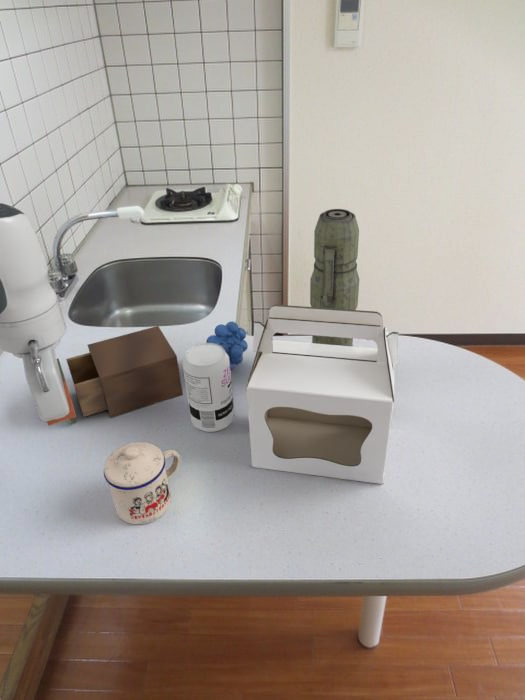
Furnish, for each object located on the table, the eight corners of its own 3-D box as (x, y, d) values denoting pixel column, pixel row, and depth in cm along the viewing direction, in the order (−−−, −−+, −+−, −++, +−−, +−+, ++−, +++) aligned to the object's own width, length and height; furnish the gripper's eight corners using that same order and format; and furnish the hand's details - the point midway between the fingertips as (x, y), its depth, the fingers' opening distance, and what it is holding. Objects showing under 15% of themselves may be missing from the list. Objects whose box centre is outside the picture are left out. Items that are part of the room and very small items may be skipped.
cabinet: (110, 418, 101) (100, 378, 95) (97, 382, 110) (87, 344, 105) (183, 394, 106) (176, 355, 100) (164, 362, 115) (158, 325, 110)
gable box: (250, 467, 89) (239, 326, 73) (266, 416, 99) (259, 283, 83) (384, 485, 84) (404, 339, 68) (386, 429, 95) (403, 292, 79)
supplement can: (187, 410, 101) (177, 346, 93) (228, 401, 103) (222, 337, 95) (195, 438, 95) (185, 372, 86) (239, 428, 97) (234, 361, 88)
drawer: (43, 433, 96) (31, 400, 92) (37, 398, 105) (25, 366, 101) (141, 402, 103) (134, 370, 98) (127, 371, 111) (120, 341, 107)
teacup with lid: (133, 537, 78) (118, 484, 71) (104, 502, 84) (88, 449, 77) (198, 493, 84) (190, 441, 78) (167, 463, 90) (157, 412, 84)
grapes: (224, 392, 106) (219, 342, 99) (201, 379, 109) (194, 331, 103) (262, 364, 113) (259, 316, 106) (238, 354, 117) (235, 307, 110)
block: (48, 425, 76) (40, 404, 74) (45, 409, 79) (37, 389, 77) (76, 417, 77) (69, 396, 75) (72, 401, 80) (65, 380, 78)
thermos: (355, 364, 112) (366, 202, 92) (349, 399, 102) (361, 227, 83) (313, 360, 114) (316, 200, 94) (304, 394, 104) (305, 225, 84)
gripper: (64, 357, 62) (91, 441, 70) (45, 287, 78) (68, 363, 86) (8, 373, 60) (42, 457, 68) (-1, 298, 76) (28, 374, 84)
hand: (57, 404), depth 77 cm, fingers closed on block, 4 cm apart
